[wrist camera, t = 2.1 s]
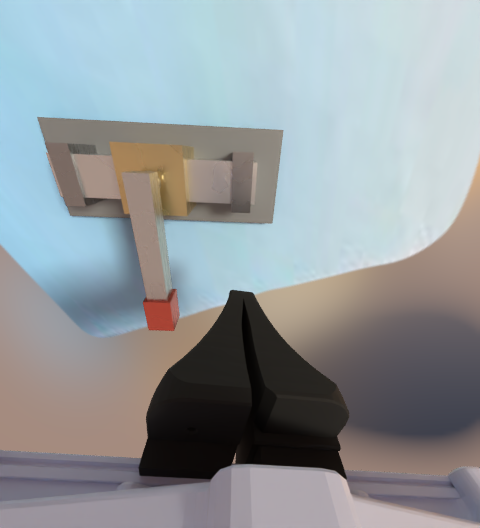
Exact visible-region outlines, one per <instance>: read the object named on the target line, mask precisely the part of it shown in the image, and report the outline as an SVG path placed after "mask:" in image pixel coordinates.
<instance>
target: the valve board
mask: <svg viewBox="0 0 480 528" xmlns="http://www.w3.org/2000/svg"><path fill="white" fill-rule="evenodd" d="M37 118H38V121H39V124H40V127H41V130H42V133H43V136H44V139H45V142H50V143H70V144H86V145H95V146H96V150H97V154H111V149H110V144H109V142H127V143H147V144H167V145H184V146H190V147H194V159H214V160H233V152H252V153H254V161H255V162H257V163H258V164H257V177H256V191H255V204H254V205H251V206H250V213H232V212H231V204H227V203H203V202H196V206H195V207H194V209H193V210H192V211H191V212H190V214H189V215H188V216H167V215H163V219H172V220H197V221H222V222H248V223H272V221H273V213H274V205H275V196H276V188H277V179H278V171H279V162H280V154H281V145H282V137H283V130H270V129H251V128H232V127H213V126H195V125H176V124H157V123H138V122H119V121H100V120H82V119H63V118H44V117H37ZM111 155H112V154H111ZM67 207H68V210H69V213H70V216H95V217H121V218H130V214H124V210H123V205H122V200H121V199H106V200H103V201H100V202H97V203H95V204H92V205H89V206H86V207H84V206H67Z"/></svg>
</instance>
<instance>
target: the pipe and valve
mask: <svg viewBox="0 0 480 528" xmlns="http://www.w3.org/2000/svg"><path fill="white" fill-rule="evenodd" d="M109 144H110V149H111V154H112V155H111V154H97V150H96V146H95V145H86V144H70V143H50V142H45V145H46V148H47V151H48V153H46V154H47V157H48V160H49V163H50V166H51V169H52V172H53V174H54V177H55V180H56V183H57V186H58V189H59V192H60V195H61V197H63V198H64V201H65V204H66V206H84V207H86V206H89V205H92V204H95V203H97V202H100V201H103V200H106V199H121V200H122V205H123V210H124V214H130V213H129V208H128V203H127V198H126V193H125V188H124V183H123V178H122V173H121V172H127V171H147V170H149V171H153V172H157V173H158V176H159V178H160V180H161V188H160V196H161V204H162V211H163V215H167V216H188V215H189V214H190V212H191V211H192V210H193V209H194V207H195V206H196V202H203V203H227V204H231V212H232V213H250V206H251V205H254V204H255V191H256V177H257V164H258V163H257V162H255V161H254V153H252V152H233V160H214V159H194V147H190V146H184V145H167V144H147V143H127V142H109Z"/></svg>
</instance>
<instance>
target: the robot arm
mask: <svg viewBox="0 0 480 528" xmlns="http://www.w3.org/2000/svg"><path fill="white" fill-rule="evenodd" d="M348 418H349V411H348V409H347V406H346V404H345V402H344V399H343V397H342V395H341V393H340V391H339V389H338V387H337V385H336V384H335V383H334V382H332V381H331V380H330V379H328V378H327V377H326V376H324V375H323V374H321V373H320V372H319V371H317V370H316V369H315V368H314V367H312V366H311V365H310V364H309V363H308V362H306V361H305V360H304V359H303V358H302V357H301V356H300V355H299V354H297V353H296V352H295V351H294V350H293V349H292V348H291V347H290V346H289V345H288V344H287V343H286V341H285V340H284V339H283V338H282V337H281V336H280V335H279V333H278V332H277V331H276V330H275V328H274V327H273V325H272V324H271V323H270V321H269V320H268V318H267V317H266V315H265V314H264V312H263V310H262V309H261V307H260V305H259V303H258V302H257V300H256V298H255V296H254V294H253V293H252V292H245V291H237V290H231V291H230V293H229V298H228V300H227V303H226V305H225V307H224V309H223V311H222V313H221V314H220V316H219V317H218V319H217V321H216V322H215V323H214V325H213V326H212V328H211V329H210V330H209V331H208V333H207V334H206V335H205V336H204V337H203V338H202V340H201V341H200V342H199V343H198V344H197V345H196V346H195V347H194V348H193V349H192V350H191V351H190V352H189V353H188V354H186V355H185V356H184V357H183V358H182V359H181V360H179V361H178V362H177V363H176V364H175V365H173V366H172V367H171V368H169V369H168V371H167V372H166V374H165V375H164V377H163V378H162V380H161V382H160V384H159V385H158V387H157V389H156V391H155V393H154V395H153V398H152V400H151V403H150V406H149V408H148V411H147V416H146V423H147V433H148V439H147V442H146V445H145V448H144V452H143V455H142V458H126V457H109V456H91V455H90V456H89V455H73V454H55V453H38V452H21V451H3V450H0V528H480V467H468V466H467V467H460V468H456V469H454V470H453V471H451V472H450V473H449V475H448V476H442V475H425V474H407V473H388V472H371V471H354V470H344V467H343V465H342V462H341V459H340V456H339V453H338V451H340V444H339V441H338V438H337V435H338V434H339V433H340V431H341V430H342V429H343V427H344V426H345V425H346V422H347V420H348ZM235 453H236V463H235V464H232V462H233V459H234V456H235Z"/></svg>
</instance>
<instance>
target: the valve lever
mask: <svg viewBox="0 0 480 528" xmlns="http://www.w3.org/2000/svg"><path fill="white" fill-rule="evenodd" d="M121 173H122V178H123V183H124V188H125V193H126V198H127V203H128V208H129V213H130V218H131V223H132V228H133V233H134V238H135V243H136V247H137V252H138V257H139V262H140V267H141V272H142V277H143V282H144V287H145V292H146V298H145V299H144V301H143V305H144V310H145V315H146V319H147V324H148V328H149V330H165V331H168V330H169V331H174V329H175V327H176V324H177V321H178V318H179V307H178V298H177V290H176V289H172V281H171V274H170V266H169V258H168V250H167V243H166V235H165V227H164V219H163V211H162V204H161V196H160V188H161V180H160V178H159V176H158V173H157V172H153V171H149V170H147V171H127V172H121Z"/></svg>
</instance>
